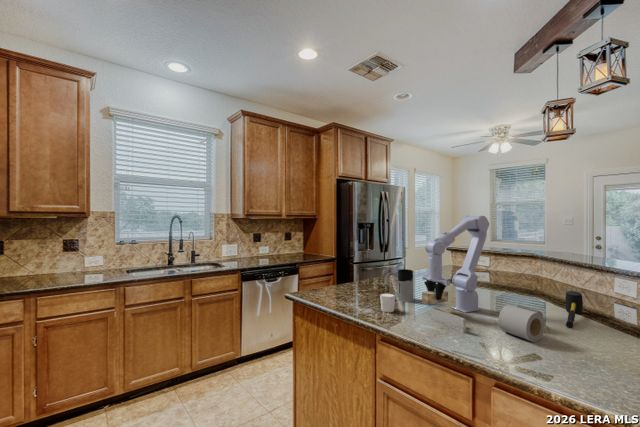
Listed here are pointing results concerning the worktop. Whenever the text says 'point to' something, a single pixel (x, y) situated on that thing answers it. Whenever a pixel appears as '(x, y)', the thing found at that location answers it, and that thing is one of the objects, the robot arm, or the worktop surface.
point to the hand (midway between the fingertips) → (435, 298)
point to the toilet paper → (522, 323)
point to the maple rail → (433, 297)
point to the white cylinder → (529, 309)
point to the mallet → (573, 306)
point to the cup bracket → (448, 319)
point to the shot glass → (387, 302)
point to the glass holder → (404, 285)
